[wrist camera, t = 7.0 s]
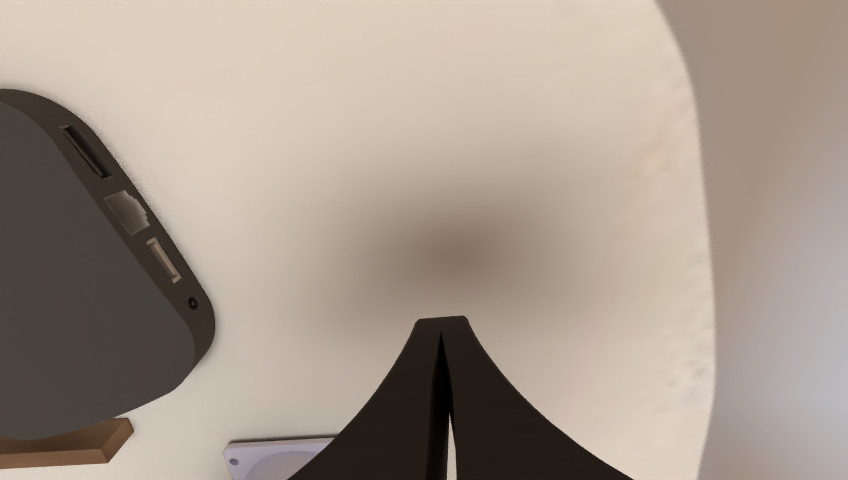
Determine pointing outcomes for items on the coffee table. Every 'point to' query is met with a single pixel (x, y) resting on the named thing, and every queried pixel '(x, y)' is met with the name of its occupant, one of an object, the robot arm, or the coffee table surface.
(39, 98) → the media streaming box
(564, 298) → the coffee table surface
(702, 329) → the coffee table surface
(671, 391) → the coffee table surface
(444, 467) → the robot arm
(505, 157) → the coffee table surface
